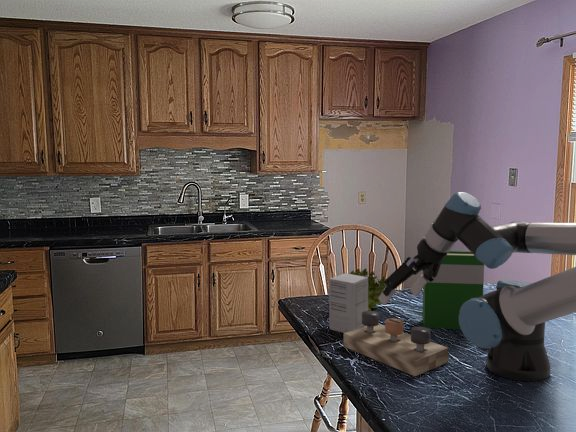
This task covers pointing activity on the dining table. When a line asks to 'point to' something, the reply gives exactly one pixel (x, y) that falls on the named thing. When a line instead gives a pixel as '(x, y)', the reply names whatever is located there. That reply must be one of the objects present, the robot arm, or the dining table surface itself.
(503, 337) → the robot arm
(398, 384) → the dining table surface
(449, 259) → the hardback book
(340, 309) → the supplement box
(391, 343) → the mount
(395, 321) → the orange knob middle
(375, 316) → the black knob far
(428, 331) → the black knob near
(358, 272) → the green leafy plant
